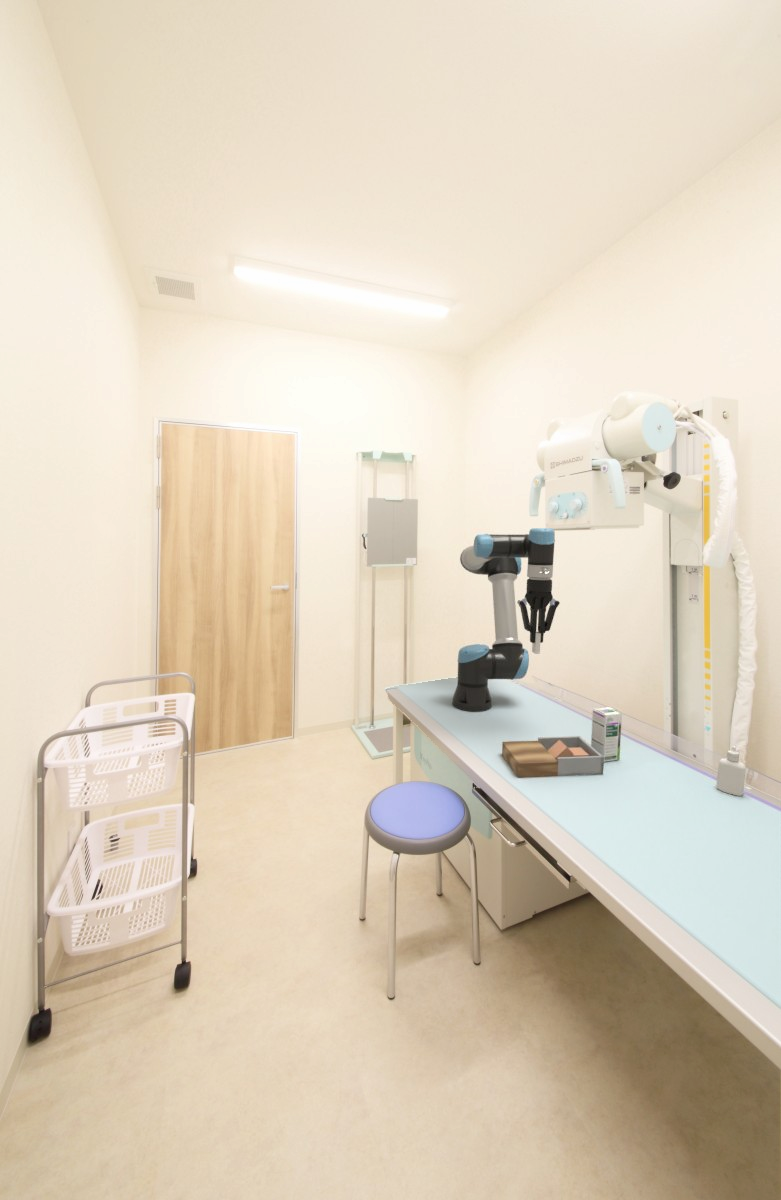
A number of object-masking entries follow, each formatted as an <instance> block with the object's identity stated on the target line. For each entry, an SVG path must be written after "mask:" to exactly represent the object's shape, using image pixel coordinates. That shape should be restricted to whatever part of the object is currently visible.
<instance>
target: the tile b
mask: <svg viewBox="0 0 781 1200" xmlns="http://www.w3.org/2000/svg"><path fill="white" fill-rule="evenodd" d="M569 750H570V751H571V752H572V753H573V755H572V756H571V757H582V756H589V754H587V753H586V752H585V751H584V750H583V749H582V748H581V747H578V748H569Z"/></svg>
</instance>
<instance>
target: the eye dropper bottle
mask: <svg viewBox="0 0 781 1200" xmlns="http://www.w3.org/2000/svg"><path fill="white" fill-rule="evenodd" d="M736 748H737V747H736V746H734V745H733V746H731V749H729V750H727V752H726V753H727V754H726V758H725V757H724V758H721V759H720V760H719V761H718V767H717V775H716V785H715V787H716V789H717V790H718V791H722V792H724V793H725V794H730V795H732V794H733V796H737V797H738V796H740V797H741V796H743V795H744V789H745V783H746V782H745V781H746V771H747V768H746V765H745V764H743V763H742V762H741V761H740V760H739V759H740V752H739V751H737V749H736Z"/></svg>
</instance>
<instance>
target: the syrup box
mask: <svg viewBox="0 0 781 1200" xmlns="http://www.w3.org/2000/svg"><path fill="white" fill-rule="evenodd" d="M591 714H592V718H591V719H592V721H591V741H590V745H591V746H592V747H593V748H594V749H595V750H596V751H598V752H599V753H600V754H601V755H602V756H604V763H606V762H612V761H620V756H621V755H620V753H621V735H622V722H623V721H622V717H623V715H622V714H623V713H622V712H620V711H619V710H617V709H615V708H612V707H609V706H606V707H600V708H592V713H591Z"/></svg>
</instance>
